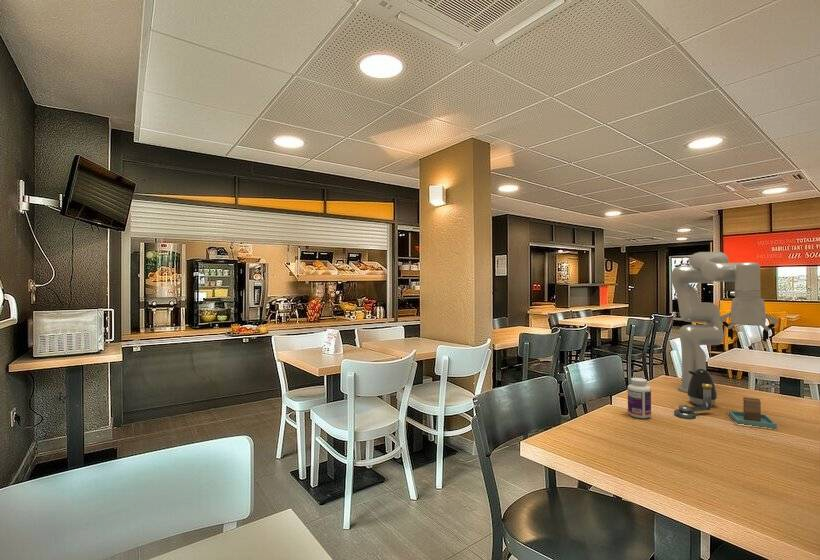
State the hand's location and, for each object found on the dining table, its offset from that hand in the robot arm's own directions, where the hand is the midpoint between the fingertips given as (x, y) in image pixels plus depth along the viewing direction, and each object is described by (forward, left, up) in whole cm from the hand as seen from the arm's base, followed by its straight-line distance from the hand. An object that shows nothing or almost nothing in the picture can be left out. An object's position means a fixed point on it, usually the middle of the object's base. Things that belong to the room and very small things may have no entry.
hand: (747, 340), depth 155 cm
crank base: (+5, -21, -30) cm, 37 cm away
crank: (+2, -17, -29) cm, 33 cm away
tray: (+4, 0, -30) cm, 31 cm away
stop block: (+4, 0, -30) cm, 30 cm away
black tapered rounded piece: (-15, -12, -31) cm, 36 cm away
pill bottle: (+12, -37, -31) cm, 49 cm away
